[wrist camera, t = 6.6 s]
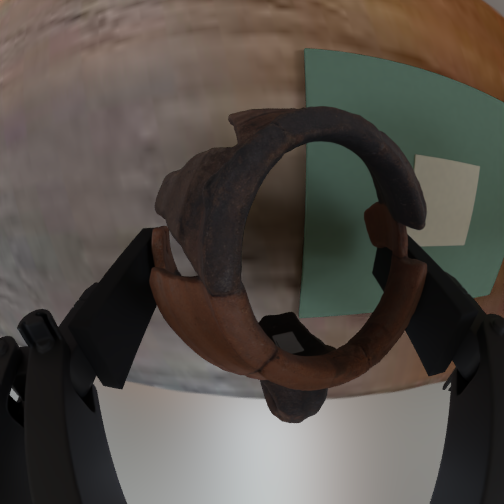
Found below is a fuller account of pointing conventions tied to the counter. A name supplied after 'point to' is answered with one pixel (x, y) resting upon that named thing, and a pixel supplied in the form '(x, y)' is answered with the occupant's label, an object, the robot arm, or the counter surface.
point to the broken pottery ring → (230, 248)
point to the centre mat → (424, 165)
